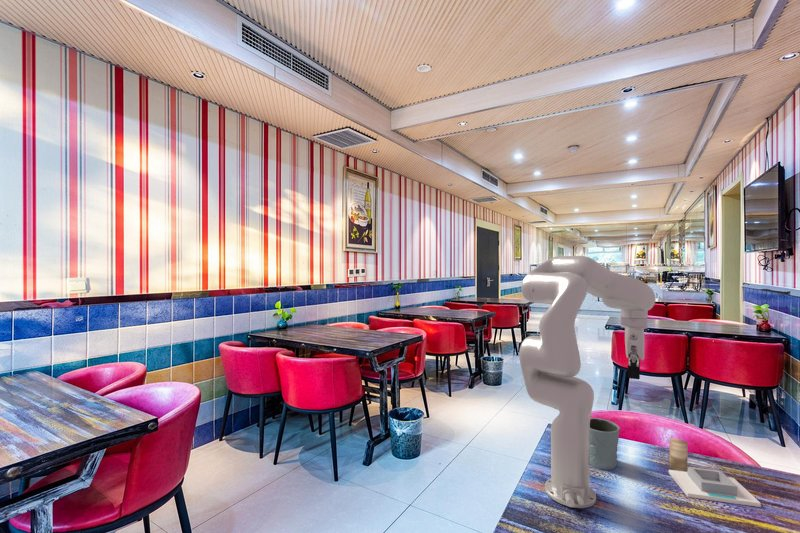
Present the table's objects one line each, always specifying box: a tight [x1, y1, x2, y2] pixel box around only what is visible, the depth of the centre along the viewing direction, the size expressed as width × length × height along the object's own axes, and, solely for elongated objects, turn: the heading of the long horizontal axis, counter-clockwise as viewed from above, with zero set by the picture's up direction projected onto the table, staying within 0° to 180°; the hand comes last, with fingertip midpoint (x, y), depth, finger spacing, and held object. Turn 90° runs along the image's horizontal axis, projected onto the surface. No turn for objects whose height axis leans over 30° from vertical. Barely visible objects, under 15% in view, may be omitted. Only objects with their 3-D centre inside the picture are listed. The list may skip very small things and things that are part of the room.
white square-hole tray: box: [668, 466, 762, 508], centre depth 104 cm, size 12×16×4 cm
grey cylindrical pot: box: [590, 417, 620, 471], centre depth 118 cm, size 10×10×12 cm
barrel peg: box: [669, 438, 689, 472], centre depth 115 cm, size 4×4×8 cm
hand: (633, 374), depth 124 cm, fingers open, 9 cm apart
